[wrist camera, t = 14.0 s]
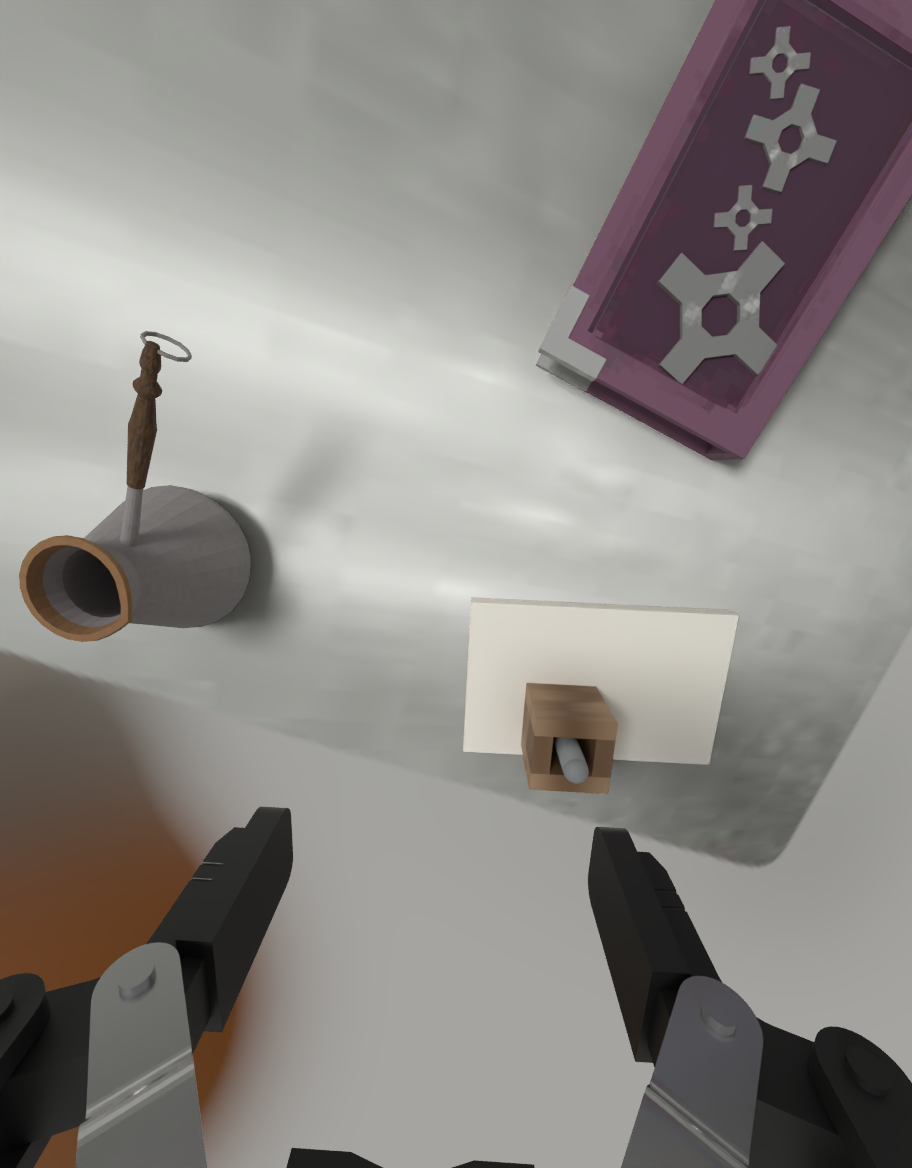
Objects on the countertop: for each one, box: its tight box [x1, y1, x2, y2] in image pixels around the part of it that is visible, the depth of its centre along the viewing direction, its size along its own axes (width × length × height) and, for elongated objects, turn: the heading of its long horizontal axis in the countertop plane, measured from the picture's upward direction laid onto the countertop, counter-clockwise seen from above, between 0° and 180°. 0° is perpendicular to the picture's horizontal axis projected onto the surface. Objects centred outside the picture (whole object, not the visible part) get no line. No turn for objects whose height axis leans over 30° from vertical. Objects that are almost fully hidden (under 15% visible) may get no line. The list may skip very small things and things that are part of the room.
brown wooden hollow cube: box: [521, 683, 618, 794], centre depth 37 cm, size 6×6×6 cm
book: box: [536, 0, 912, 460], centre depth 31 cm, size 25×16×5 cm, turn 153°
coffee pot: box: [19, 331, 251, 642], centre depth 31 cm, size 21×12×15 cm, turn 147°
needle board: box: [463, 598, 739, 784], centre depth 36 cm, size 22×14×10 cm, turn 88°
